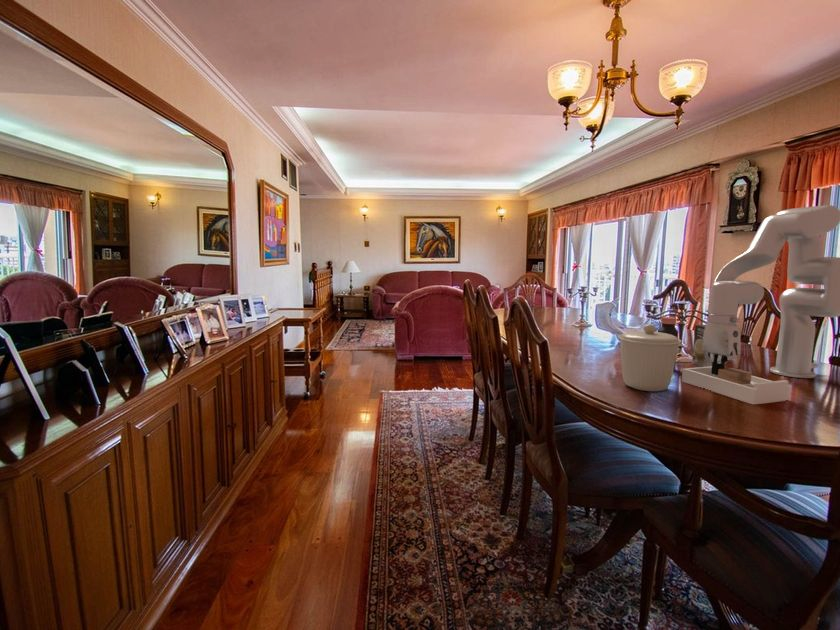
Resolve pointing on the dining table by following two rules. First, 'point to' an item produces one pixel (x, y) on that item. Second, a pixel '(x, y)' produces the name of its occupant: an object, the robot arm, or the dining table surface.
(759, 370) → the dining table surface
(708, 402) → the dining table surface
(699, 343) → the coffee box
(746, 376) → the walnut block
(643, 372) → the canister
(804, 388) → the dining table surface
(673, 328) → the bottle
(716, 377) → the box
